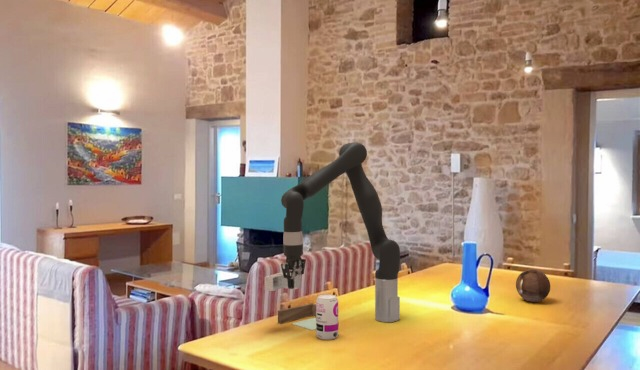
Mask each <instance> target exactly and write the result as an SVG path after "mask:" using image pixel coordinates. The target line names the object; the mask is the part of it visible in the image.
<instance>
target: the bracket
mask: <svg viewBox="0 0 640 370" xmlns="http://www.w3.org/2000/svg"><path fill="white" fill-rule="evenodd" d="M286 275H287V273H286ZM290 276H291V273H290ZM293 285H294V288H293V289H292V290H297V289H301V288H302V275H301V274H294V277H293ZM280 289H289V288H288V280H287V278H284V276H283V272H282V271H281V272H277V273H274V274H270V275H267V276H264V291H271V292H274V291H277V290H280ZM289 290H290V289H289Z"/></svg>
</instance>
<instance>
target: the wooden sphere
mask: <svg viewBox="0 0 640 370" xmlns="http://www.w3.org/2000/svg"><path fill="white" fill-rule="evenodd" d="M515 287H516V292H517V293H518V295H519V296H520V297H521V298H522V299H524V301H527V302H531V303H538V302H542V301H544V300H545V299H546V298H547V297H548V295H549V294H550V292H551V281H550V279H549V277H548V276H547V275H546V274H545V273H544V272H543V271H541V270H538V269H534V268H533V269H527V270H524V271H521V273H519V274H518V276H517V278H516V281H515Z"/></svg>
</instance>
